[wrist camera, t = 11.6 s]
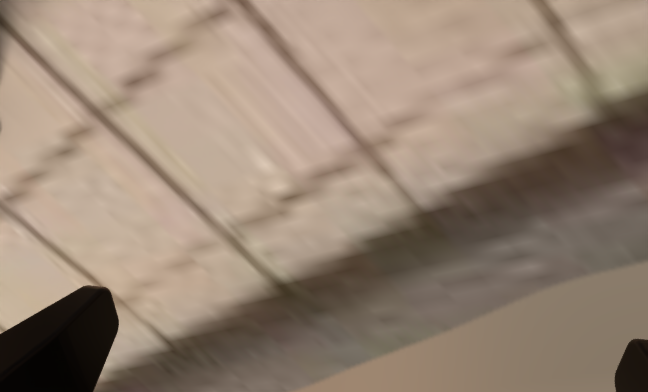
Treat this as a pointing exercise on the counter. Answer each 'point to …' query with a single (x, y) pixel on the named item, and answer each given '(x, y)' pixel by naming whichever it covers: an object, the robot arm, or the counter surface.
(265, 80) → the counter surface
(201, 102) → the counter surface
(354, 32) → the counter surface
